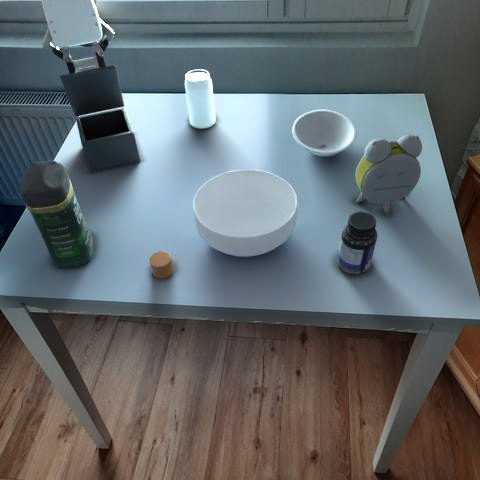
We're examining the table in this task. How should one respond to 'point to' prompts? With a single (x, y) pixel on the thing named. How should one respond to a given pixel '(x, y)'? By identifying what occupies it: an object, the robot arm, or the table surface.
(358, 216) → the pill bottle
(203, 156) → the table surface
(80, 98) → the lid
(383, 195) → the alarm clock
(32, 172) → the coffee jar
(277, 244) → the bowl
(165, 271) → the cylinder
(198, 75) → the can
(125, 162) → the open grey storage bin
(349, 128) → the dish
